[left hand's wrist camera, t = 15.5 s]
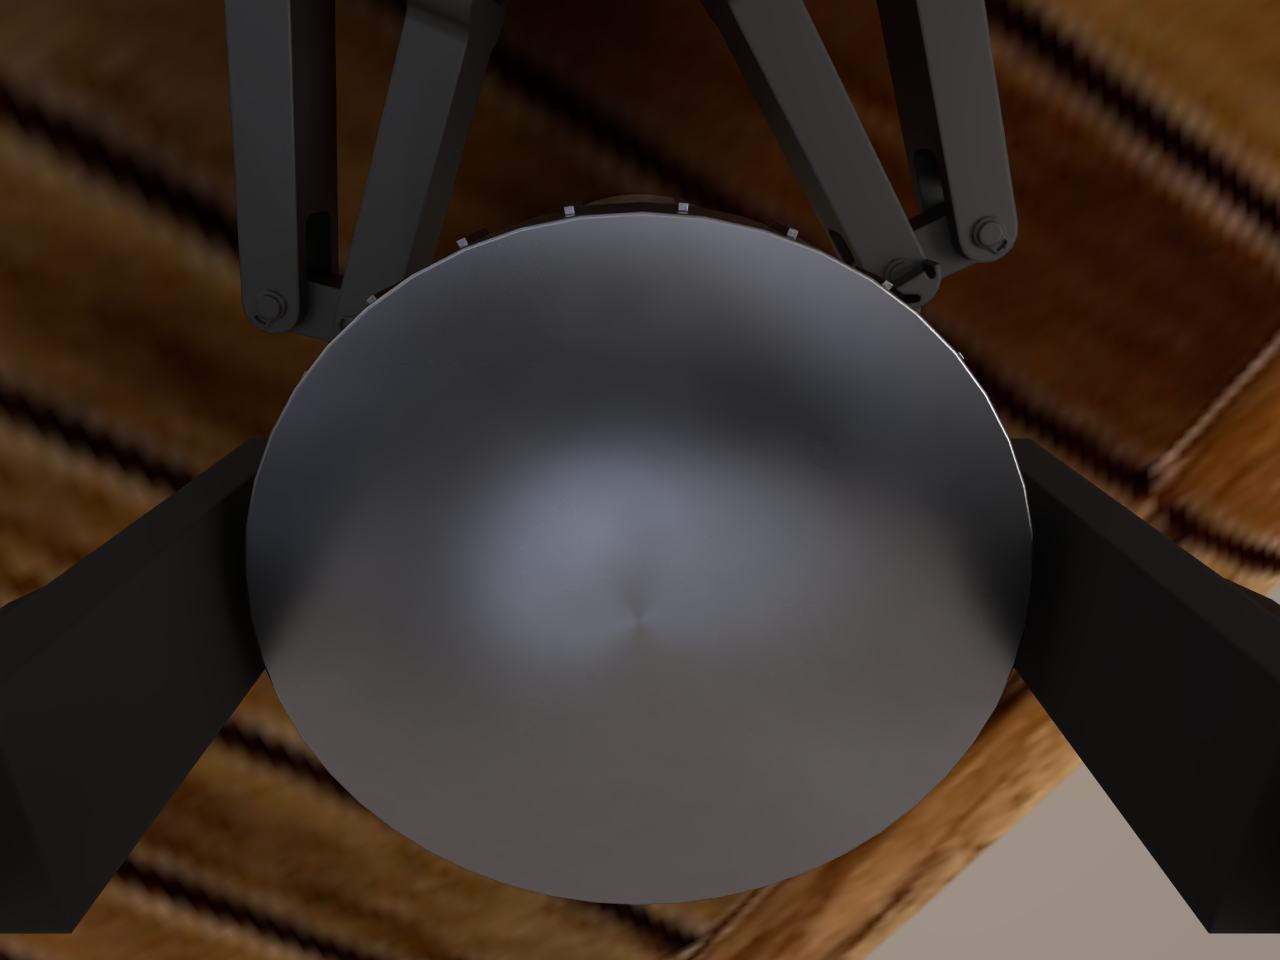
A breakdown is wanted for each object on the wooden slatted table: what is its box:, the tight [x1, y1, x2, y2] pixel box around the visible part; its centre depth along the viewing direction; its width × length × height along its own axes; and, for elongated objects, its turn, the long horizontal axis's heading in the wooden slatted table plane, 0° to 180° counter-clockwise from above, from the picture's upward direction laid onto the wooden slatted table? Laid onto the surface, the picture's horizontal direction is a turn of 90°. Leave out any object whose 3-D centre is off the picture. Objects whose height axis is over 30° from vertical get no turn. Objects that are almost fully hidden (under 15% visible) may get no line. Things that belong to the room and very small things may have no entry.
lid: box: [245, 197, 1033, 905], centre depth 11 cm, size 10×10×2 cm
